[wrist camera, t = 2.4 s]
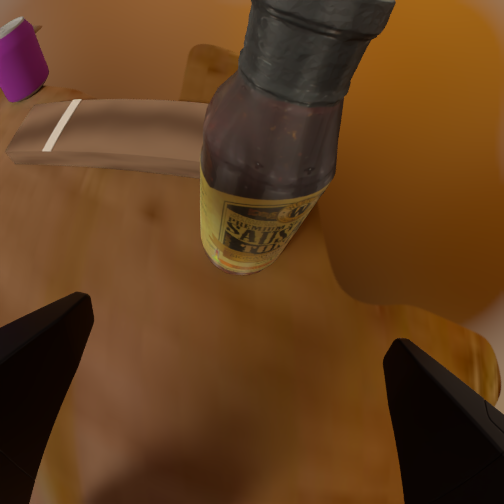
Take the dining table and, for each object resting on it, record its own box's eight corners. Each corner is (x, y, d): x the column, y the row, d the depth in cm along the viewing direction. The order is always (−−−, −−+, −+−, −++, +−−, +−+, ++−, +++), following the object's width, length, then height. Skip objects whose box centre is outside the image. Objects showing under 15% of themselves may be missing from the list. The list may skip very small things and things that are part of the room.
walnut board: (307, 197, 25) (316, 181, 22) (14, 164, 23) (4, 151, 20) (309, 138, 27) (316, 121, 25) (41, 117, 25) (34, 103, 23)
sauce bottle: (220, 291, 21) (249, 0, 3) (190, 220, 23) (162, -50, 4) (296, 259, 23) (468, 40, 4) (263, 194, 25) (338, -43, 6)
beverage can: (3, 99, 26) (-25, 47, 15) (39, 68, 28) (18, 14, 17) (19, 111, 25) (-14, 50, 14) (59, 75, 28) (36, 12, 17)
